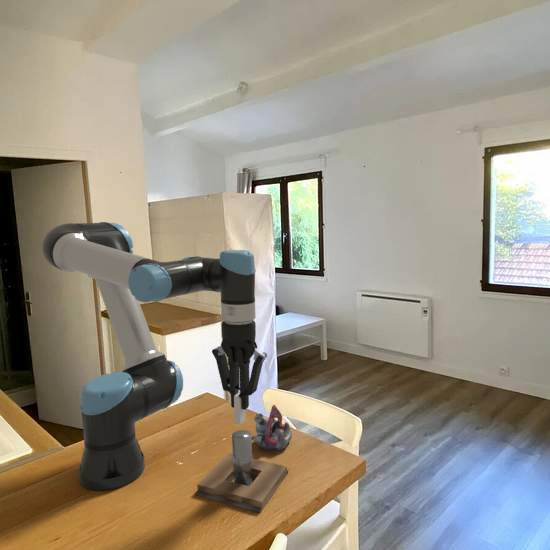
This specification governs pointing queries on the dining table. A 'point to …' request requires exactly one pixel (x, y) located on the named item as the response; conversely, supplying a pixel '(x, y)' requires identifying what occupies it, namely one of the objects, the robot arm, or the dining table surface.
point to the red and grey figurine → (272, 431)
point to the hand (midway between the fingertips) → (240, 421)
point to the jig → (241, 495)
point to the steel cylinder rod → (242, 457)
